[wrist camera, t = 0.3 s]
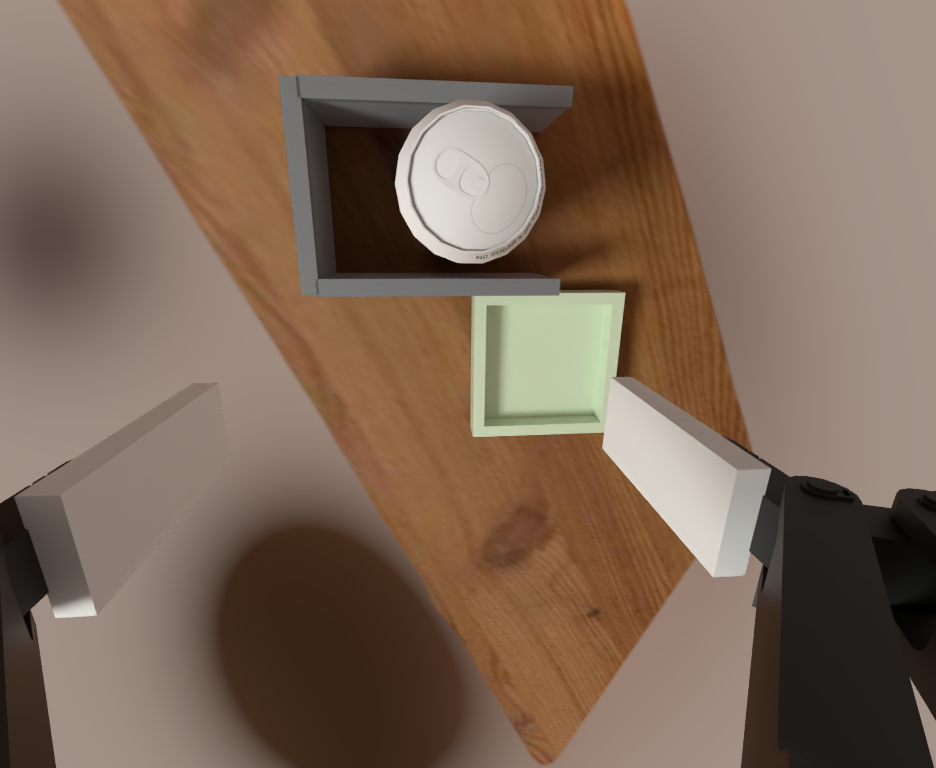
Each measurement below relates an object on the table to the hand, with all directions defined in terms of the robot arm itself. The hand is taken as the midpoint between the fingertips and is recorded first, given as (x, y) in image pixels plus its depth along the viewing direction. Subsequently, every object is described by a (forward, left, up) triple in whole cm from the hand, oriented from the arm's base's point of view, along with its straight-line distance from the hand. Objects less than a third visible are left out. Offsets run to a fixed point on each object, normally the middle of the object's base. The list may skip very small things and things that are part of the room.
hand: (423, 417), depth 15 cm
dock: (-9, +1, -26) cm, 27 cm away
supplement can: (-9, +3, -26) cm, 27 cm away
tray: (+5, +11, -26) cm, 28 cm away
